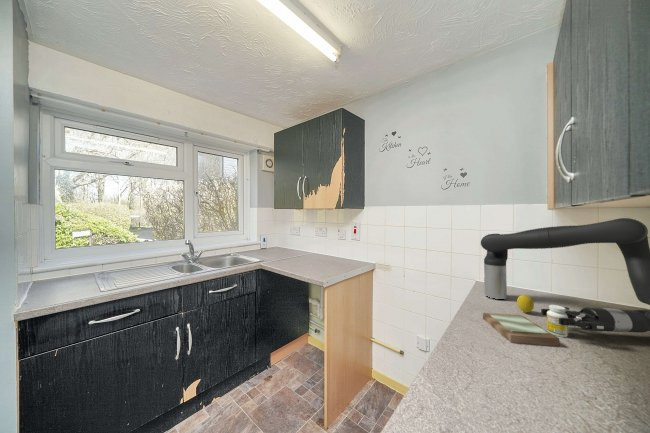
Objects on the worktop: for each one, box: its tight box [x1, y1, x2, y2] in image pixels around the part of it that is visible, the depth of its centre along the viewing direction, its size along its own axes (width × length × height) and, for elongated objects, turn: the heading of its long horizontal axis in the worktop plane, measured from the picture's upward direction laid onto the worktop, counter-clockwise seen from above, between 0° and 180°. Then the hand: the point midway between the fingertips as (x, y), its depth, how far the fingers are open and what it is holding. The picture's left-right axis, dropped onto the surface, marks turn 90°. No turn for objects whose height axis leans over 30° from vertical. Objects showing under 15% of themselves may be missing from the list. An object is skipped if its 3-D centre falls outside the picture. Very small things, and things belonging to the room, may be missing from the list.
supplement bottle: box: [546, 304, 569, 338], centre depth 81 cm, size 5×5×10 cm
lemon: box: [516, 294, 535, 314], centre depth 98 cm, size 6×6×8 cm
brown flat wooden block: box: [482, 312, 560, 347], centre depth 83 cm, size 18×14×3 cm
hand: (550, 316), depth 81 cm, fingers open, 7 cm apart
